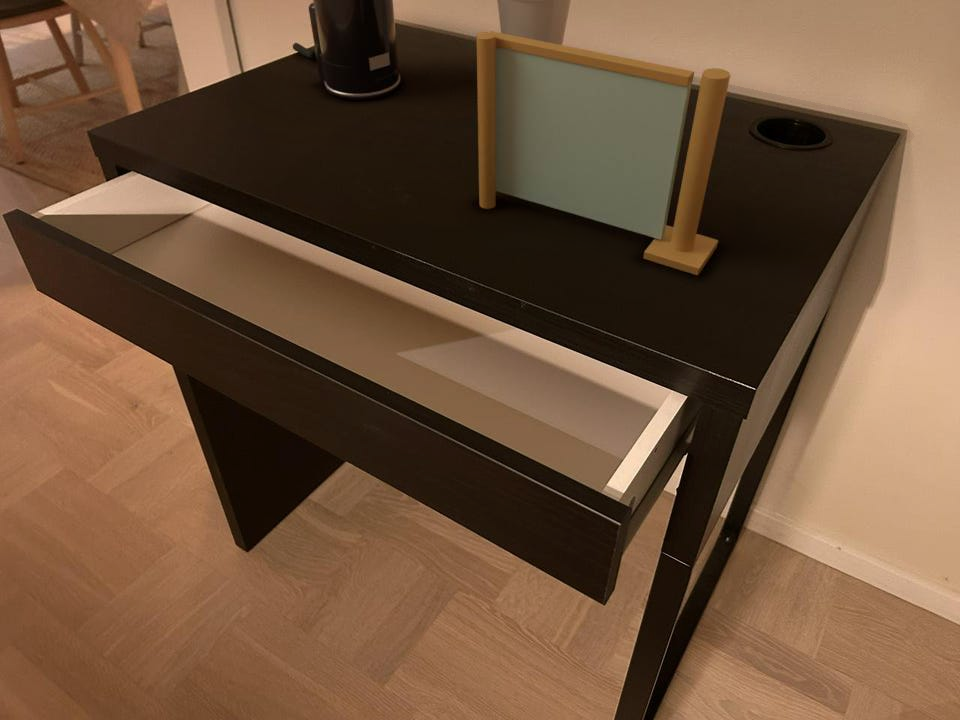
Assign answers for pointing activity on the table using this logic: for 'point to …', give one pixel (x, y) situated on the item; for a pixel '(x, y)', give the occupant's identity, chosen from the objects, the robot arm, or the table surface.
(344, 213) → the table surface
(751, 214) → the table surface
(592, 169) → the glass door
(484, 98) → the wooden dowel rod
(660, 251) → the hinge post
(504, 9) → the foam cup
